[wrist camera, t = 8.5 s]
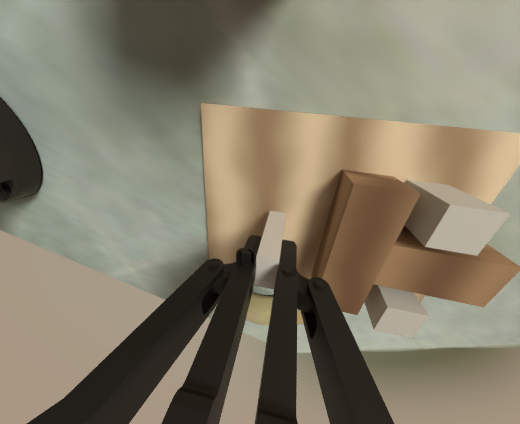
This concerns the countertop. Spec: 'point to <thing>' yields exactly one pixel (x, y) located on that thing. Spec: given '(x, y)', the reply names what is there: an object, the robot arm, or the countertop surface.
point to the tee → (396, 249)
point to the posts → (434, 236)
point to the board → (328, 168)
